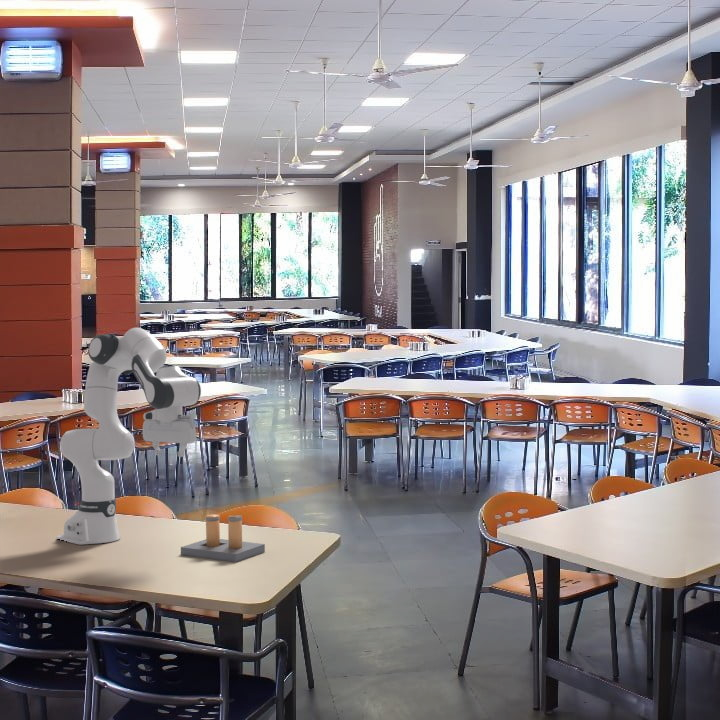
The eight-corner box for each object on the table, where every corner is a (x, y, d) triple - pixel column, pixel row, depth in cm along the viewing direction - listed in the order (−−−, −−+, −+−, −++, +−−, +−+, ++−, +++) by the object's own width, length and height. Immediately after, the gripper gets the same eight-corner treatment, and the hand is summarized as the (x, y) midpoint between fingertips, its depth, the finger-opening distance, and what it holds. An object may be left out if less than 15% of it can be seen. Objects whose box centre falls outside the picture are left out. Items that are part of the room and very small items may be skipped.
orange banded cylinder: (204, 553, 326) (203, 516, 325) (209, 550, 330) (208, 514, 330) (217, 553, 325) (216, 517, 324) (222, 550, 329) (221, 514, 329)
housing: (180, 554, 324) (180, 516, 323) (210, 545, 338) (210, 508, 337) (236, 561, 313) (235, 522, 313) (264, 551, 327) (264, 513, 327)
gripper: (199, 414, 330) (200, 456, 330) (151, 412, 340) (152, 453, 340) (187, 416, 324) (188, 458, 325) (139, 414, 334) (140, 455, 334)
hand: (169, 455), depth 332 cm, fingers open, 8 cm apart
